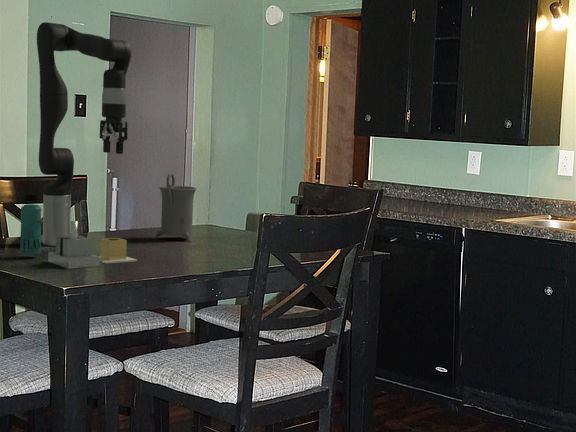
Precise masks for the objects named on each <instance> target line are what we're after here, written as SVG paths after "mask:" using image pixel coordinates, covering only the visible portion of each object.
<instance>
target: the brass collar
mask: <svg viewBox="0 0 576 432" xmlns="http://www.w3.org/2000/svg"><path fill="white" fill-rule="evenodd" d="M99 240H100V242H99V249H100V250H99V256H100V258H103V259H106V260H121V259H126V257H127V247H128V246H127V243H128V240H127V239H124V238H119V237H110V238H109V237H108V238H100V239H99Z"/></svg>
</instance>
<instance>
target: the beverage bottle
mask: <svg viewBox="0 0 576 432" xmlns="http://www.w3.org/2000/svg"><path fill="white" fill-rule="evenodd" d="M23 199H24V201H25V202H38V201H39V197H38V194H36V193H25V194H24V198H23ZM42 226H43V219H42V208H41V207H40V205H38V204H30V203H29V204H24V205H22V207H20V233H19V234H20V237H19V238H20V240H19V242H20V243H19V247H20V248H19V252H20V254H23V255H38V254H41V252H42Z"/></svg>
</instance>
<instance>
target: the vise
mask: <svg viewBox="0 0 576 432" xmlns="http://www.w3.org/2000/svg"><path fill="white" fill-rule="evenodd" d="M99 256H100V255H96V254H93V239H92V238H90V237H85V236H82V235H78V221H77V220H71V226H70V236H63V237H56V246H55V251H48V253H47V262H48V263H51V264H54V265H57V266H60V267H63V268H65V269H80V268H81V269H82V268H93V267H94V268H95V267H100V262H99Z"/></svg>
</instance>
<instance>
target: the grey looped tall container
mask: <svg viewBox="0 0 576 432" xmlns="http://www.w3.org/2000/svg"><path fill="white" fill-rule="evenodd" d="M170 179H171V183H170ZM175 181H176V178H175V175H174V174H173V173H169V174H168V175H167V177H166V181H165V182H166V185H162V186H159V190H160V193H161V220H160V221H161V224H160V230H158V231H157V232H156V234H155V236H153V239H154V240H157V239H158V238H159V237H160V236H163V235H165V236H166V235H167V236H183V238H185V239H186V240H187V242H189V243H190V242H192V241H191V236H190V235H193V219H194V218H193V216H194V215H193V214H194V212H193V211H194V197H195V192H196V191H197V188H196V187H193V186H186V185H185V186H184V185H176V182H175Z"/></svg>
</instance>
